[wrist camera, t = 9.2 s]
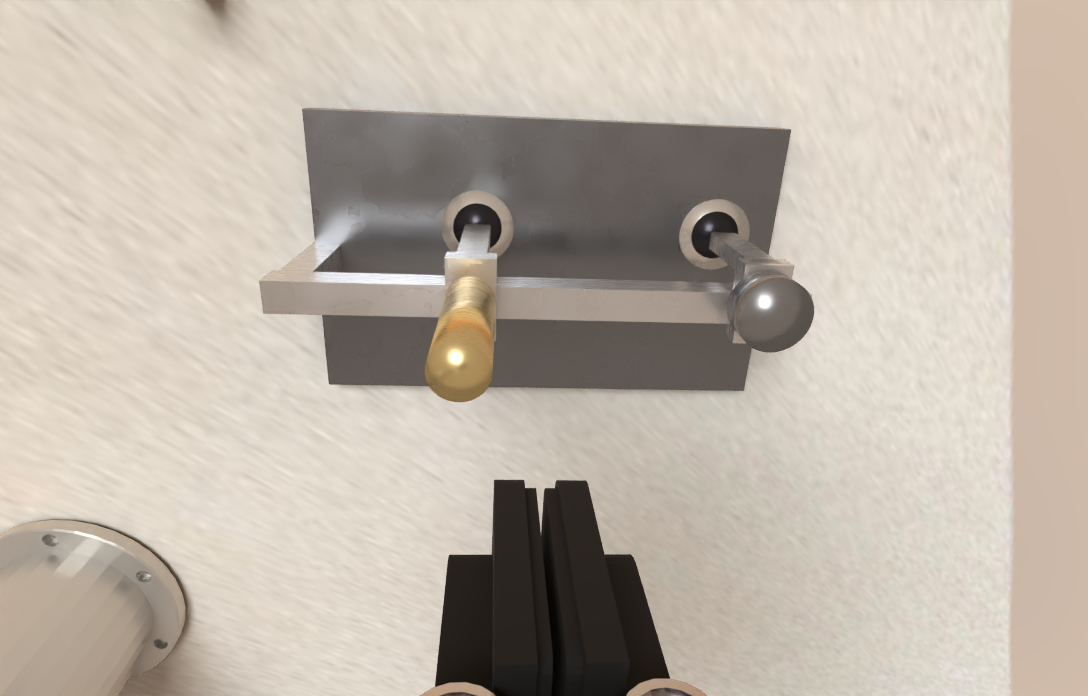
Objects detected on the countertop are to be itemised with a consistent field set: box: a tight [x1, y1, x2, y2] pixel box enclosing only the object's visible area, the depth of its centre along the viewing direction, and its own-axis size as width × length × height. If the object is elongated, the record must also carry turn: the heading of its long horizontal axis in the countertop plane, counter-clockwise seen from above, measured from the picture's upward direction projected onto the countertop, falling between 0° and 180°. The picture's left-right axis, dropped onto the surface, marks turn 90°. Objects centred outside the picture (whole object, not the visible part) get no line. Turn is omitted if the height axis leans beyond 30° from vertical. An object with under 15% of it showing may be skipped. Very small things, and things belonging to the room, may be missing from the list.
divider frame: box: [259, 230, 814, 352], centre depth 29 cm, size 3×23×10 cm, turn 88°
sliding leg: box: [425, 222, 497, 402], centre depth 25 cm, size 3×2×14 cm, turn 177°
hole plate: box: [302, 108, 791, 391], centre depth 33 cm, size 14×23×1 cm, turn 88°
